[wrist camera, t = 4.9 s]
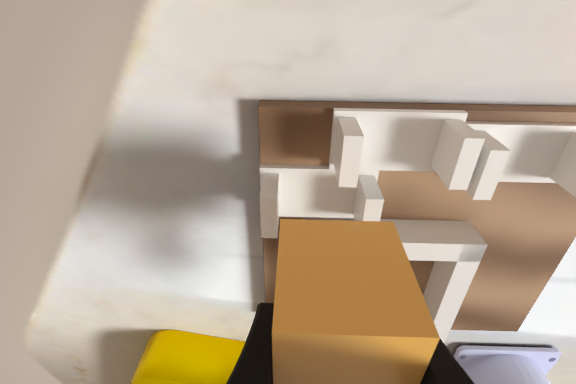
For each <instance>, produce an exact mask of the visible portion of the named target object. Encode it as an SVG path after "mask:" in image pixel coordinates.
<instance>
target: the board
mask: <svg viewBox="0 0 576 384" xmlns="http://www.w3.org/2000/svg"><path fill="white" fill-rule="evenodd" d="M334 108H361V109H414V110H464V111H466V112H467V113H468V115H467V118H466V121H492V122H544V123H576V106H544V105H490V104H436V103H382V102H328V101H274V100H260V102H259V105H258V118H259V145H260V164H272V165H319V166H329V155H330V144H331V132H332V121H333V109H334ZM377 183H378V186H379V188H380V191H381V193H382V195H383V198H384V203H383V208H382V213H381V218H380V219H403V220H446V221H471V223H472V224H473V226H474V227H475V228H476V230H477V231H478V232H479V234H480V235H481V236H482V238H483V239H484V240H485V242H486V243H487V244H488V246H487V248H486V250H485V252H484V255H483V257H482V259H481V261H480V264H479V266H478V268H477V270H476V273H475V275H474V277H473V279H472V282H471V284H470V286H469V289H468V291H467V293H466V295H465V298H464V300H463V302H462V304H461V307H460V309H459V311H458V313H457V316H456V318H455V320H454V322H453V325H452V327H451V330H487V331H518V329H519V327H520V326H521V324H522V323H523V321H524V319H525V318H526V316H527V314H528V313H529V311H530V310H531V308H532V306H533V305H534V303H535V302H536V300H537V298H538V297H539V295H540V293H541V292H542V290H543V289H544V287H545V285H546V284H547V282H548V281H549V279H550V277H551V276H552V274H553V273H554V271H555V269H556V268H557V266H558V264H559V263H560V261H561V260H562V258H563V256H564V255H565V253H566V252H567V250H568V248H569V247H570V245H571V243H572V242H573V240H574V239H575V237H576V197H574V196H573V195H572V194H570V193H569V192H568V191H566V190H565V189H564V188H562V187H561V186H560V185H558V184H557V183H532V182H498V184H497V186H496V189H495V191H494V194H493V196H492V198H491V200H472V198H471V197H470V196H469V195H468V194H467V192H466V191H465V190H448V188H447V187H446V185H445V184H444V183H443V181H442V180H441V179H440V177H439V176H438V175H437V173H436V172H428V171H381V170H379V175H378V180H377ZM317 218H320V217H317ZM280 219H303V217H279V225H278V237H277V238H263V251H264V278H265V303H274V298H275V284H276V271H277V258H278V244H279V231H280ZM409 262H410V264H411V267H412V269H413V272H414V274H415V277H416V279H417V282H418V284H419V287H420V289H421V292H422V294H424V291H425V289H426V286H427V283H428V280H429V277H430V274H431V271H432V268H433V265H434V262H435V261H415V260H409Z"/></svg>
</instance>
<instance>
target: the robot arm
mask: <svg viewBox="0 0 576 384" xmlns="http://www.w3.org/2000/svg"><path fill="white" fill-rule="evenodd" d="M273 311H274V303H260V304H259V305H258V307H257V311H256V314H255V318H254V321H253V324H252V327H251V329H250V332H249V335H248V337H247V340H246V342H245V345H244V347H243V349H242V351H241V354H240V356H239V358H238V360H237V363H236V365H235V367H234V369H233V371H232V373H231V375H230V377H229V379H228V381H227V383H226V384H273V359H272V324H273ZM561 355H562V354H561V352H560V351H559V349H557V348H538V347H503V346H468V345H463V346H459V347H458V348H457V349H456V351H455V354H454V356H453V355H452V354H451V352H450V351H449V350H448V348H447V347H446V345H445V344H444V343H443V341H442V340H441V339H439V341H438V344H437V346H436V348H435V351H434V353H433V355H432V358H431V360H430V362H429V365H428V367H427V369H426V371H425V374H424V376H423V378H422V381H421V383H420V384H551V383H550V381H549V379H548V378H547V376H546V374H547V373H548V372H549V371H550V369H551V368H552V367H553V366H554V364H555V363H556V362H557V361H558V359H559V358H560V357H561Z"/></svg>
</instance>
